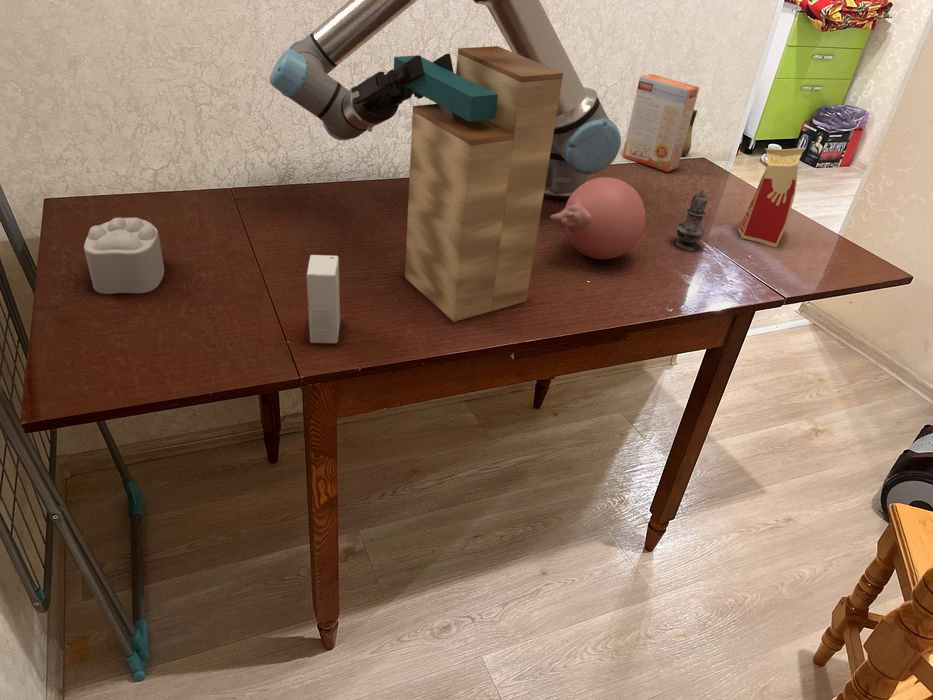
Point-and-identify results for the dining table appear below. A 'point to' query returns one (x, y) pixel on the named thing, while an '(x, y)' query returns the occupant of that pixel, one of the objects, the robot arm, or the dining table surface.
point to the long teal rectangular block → (452, 91)
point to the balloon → (603, 218)
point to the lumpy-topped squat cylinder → (124, 256)
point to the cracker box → (660, 122)
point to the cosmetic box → (323, 298)
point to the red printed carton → (772, 198)
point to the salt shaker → (692, 224)
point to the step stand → (481, 186)
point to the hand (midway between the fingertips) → (435, 63)
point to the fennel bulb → (689, 135)
